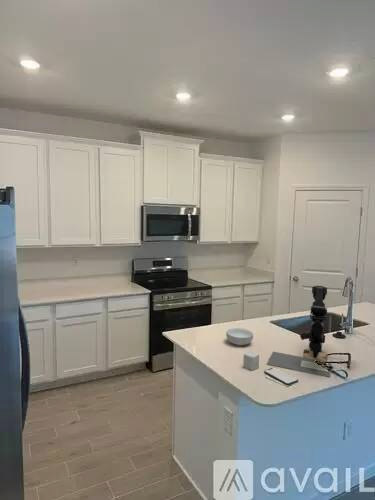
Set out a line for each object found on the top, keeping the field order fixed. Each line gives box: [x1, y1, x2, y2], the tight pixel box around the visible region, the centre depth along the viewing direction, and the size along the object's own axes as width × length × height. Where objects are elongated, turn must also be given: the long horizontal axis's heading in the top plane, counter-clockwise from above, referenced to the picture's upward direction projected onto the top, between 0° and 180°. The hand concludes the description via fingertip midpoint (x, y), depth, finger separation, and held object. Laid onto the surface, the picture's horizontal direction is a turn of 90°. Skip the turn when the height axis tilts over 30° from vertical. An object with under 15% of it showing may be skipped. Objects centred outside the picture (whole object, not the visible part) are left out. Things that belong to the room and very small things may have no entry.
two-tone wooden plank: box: [302, 349, 328, 362], centre depth 185 cm, size 12×5×3 cm, turn 66°
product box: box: [242, 351, 260, 371], centre depth 182 cm, size 6×6×7 cm
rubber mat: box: [266, 351, 332, 378], centre depth 188 cm, size 19×32×1 cm, turn 66°
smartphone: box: [263, 366, 299, 387], centre depth 172 cm, size 9×2×16 cm
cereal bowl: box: [225, 327, 254, 346], centre depth 216 cm, size 17×17×7 cm
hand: (315, 355), depth 185 cm, fingers closed on two-tone wooden plank, 5 cm apart
